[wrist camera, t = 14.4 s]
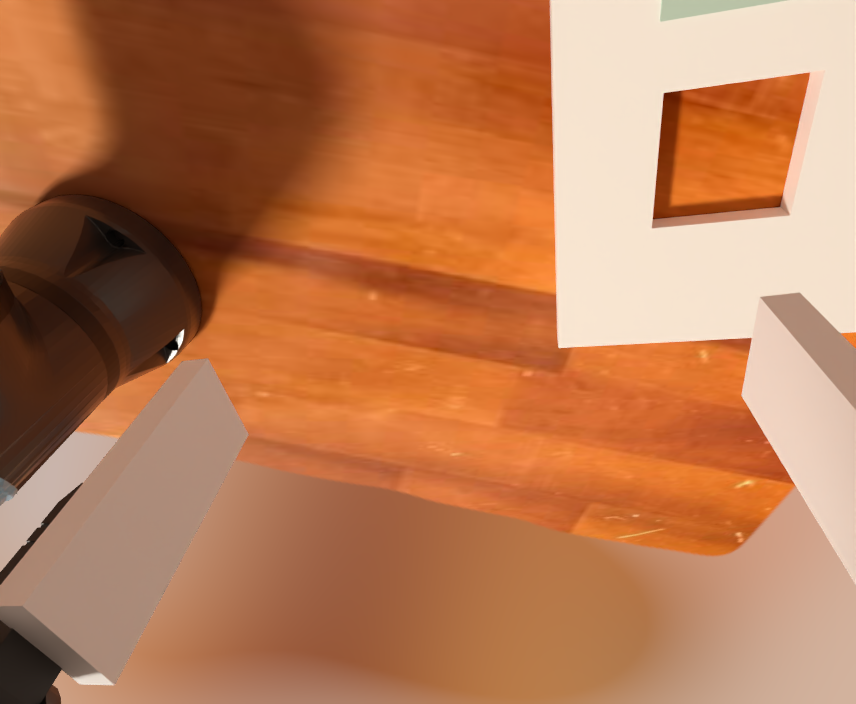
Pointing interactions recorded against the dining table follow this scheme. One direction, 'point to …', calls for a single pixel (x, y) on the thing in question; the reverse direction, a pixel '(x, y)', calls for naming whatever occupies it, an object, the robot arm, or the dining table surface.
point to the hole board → (638, 157)
